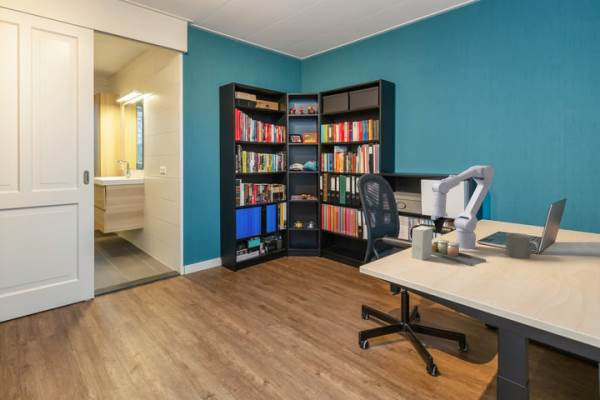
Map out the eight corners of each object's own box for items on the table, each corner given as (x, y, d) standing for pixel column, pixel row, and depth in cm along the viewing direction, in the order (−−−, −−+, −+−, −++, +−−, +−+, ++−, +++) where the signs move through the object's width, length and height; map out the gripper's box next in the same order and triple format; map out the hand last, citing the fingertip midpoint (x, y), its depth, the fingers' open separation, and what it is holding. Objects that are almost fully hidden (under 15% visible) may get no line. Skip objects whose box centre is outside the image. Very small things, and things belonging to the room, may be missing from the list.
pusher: (440, 250, 167) (440, 240, 166) (442, 250, 166) (442, 241, 165) (429, 252, 163) (429, 242, 162) (431, 252, 162) (431, 243, 161)
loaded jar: (438, 251, 166) (438, 239, 165) (449, 252, 163) (449, 240, 162) (436, 253, 161) (436, 241, 161) (448, 254, 158) (448, 242, 158)
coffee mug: (500, 253, 162) (501, 233, 161) (514, 251, 166) (515, 232, 165) (528, 261, 150) (530, 240, 149) (542, 258, 154) (544, 237, 153)
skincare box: (420, 255, 160) (421, 225, 158) (432, 258, 155) (433, 227, 153) (410, 259, 154) (411, 227, 153) (422, 262, 150) (423, 229, 148)
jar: (454, 253, 161) (455, 241, 160) (461, 256, 156) (461, 244, 155) (444, 254, 160) (445, 242, 159) (450, 257, 155) (451, 245, 154)
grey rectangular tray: (437, 249, 171) (437, 242, 170) (486, 263, 148) (487, 255, 148) (421, 252, 165) (421, 245, 164) (469, 267, 142) (470, 259, 142)
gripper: (441, 207, 159) (440, 235, 160) (453, 204, 169) (452, 231, 170) (427, 206, 164) (426, 233, 165) (439, 203, 174) (438, 229, 175)
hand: (438, 232), depth 168 cm, fingers closed
